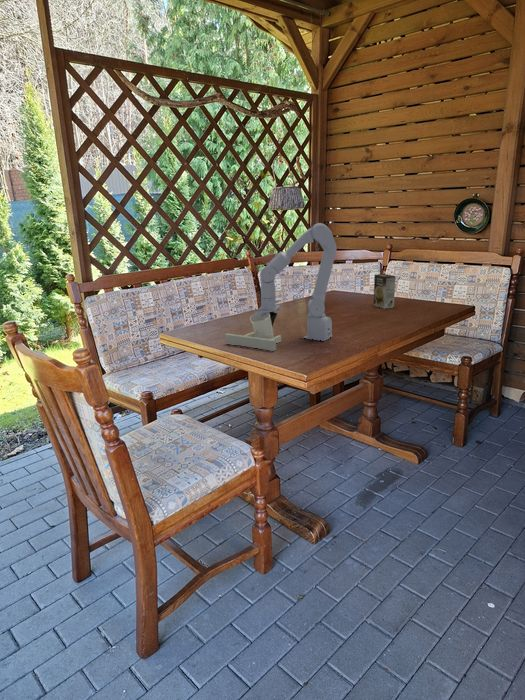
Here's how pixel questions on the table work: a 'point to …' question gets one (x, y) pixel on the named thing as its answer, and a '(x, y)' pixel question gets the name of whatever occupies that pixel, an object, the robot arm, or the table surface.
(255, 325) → the white cup
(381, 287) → the coffee box
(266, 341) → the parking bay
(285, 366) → the table surface
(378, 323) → the table surface
